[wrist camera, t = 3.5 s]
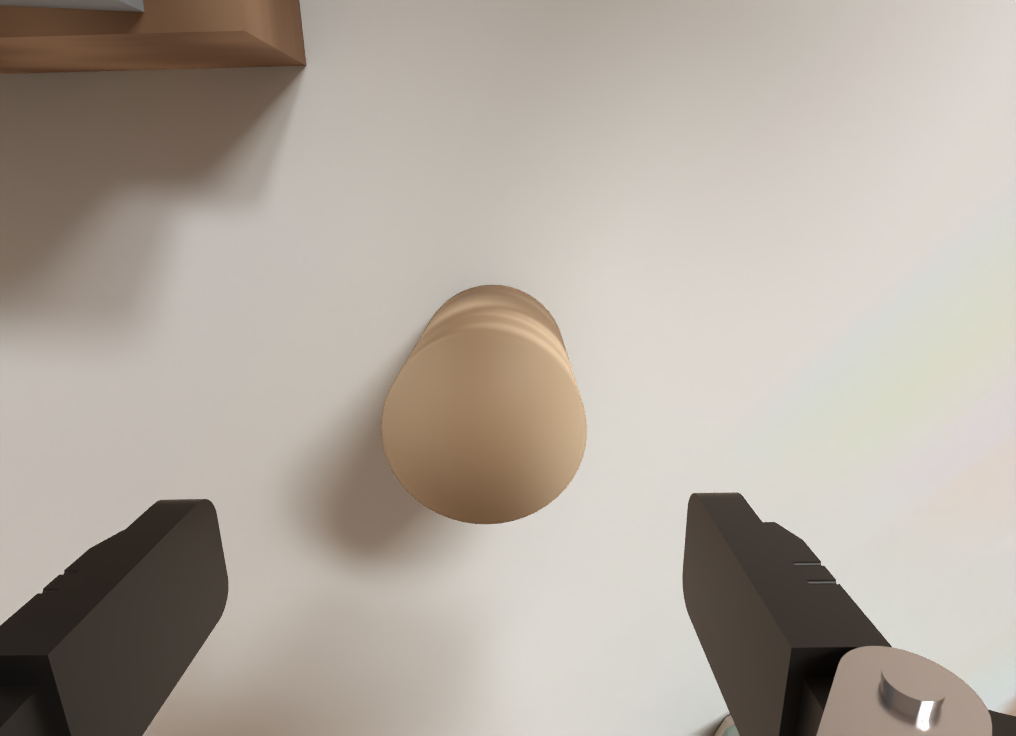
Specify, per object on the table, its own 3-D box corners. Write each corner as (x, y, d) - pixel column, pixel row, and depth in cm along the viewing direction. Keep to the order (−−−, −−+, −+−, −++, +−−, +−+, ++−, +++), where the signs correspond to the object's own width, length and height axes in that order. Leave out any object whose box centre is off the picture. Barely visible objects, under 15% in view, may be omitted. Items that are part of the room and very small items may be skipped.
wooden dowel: (564, 283, 21) (588, 331, 14) (563, 419, 22) (585, 522, 15) (418, 286, 21) (372, 336, 14) (427, 421, 22) (390, 525, 15)
